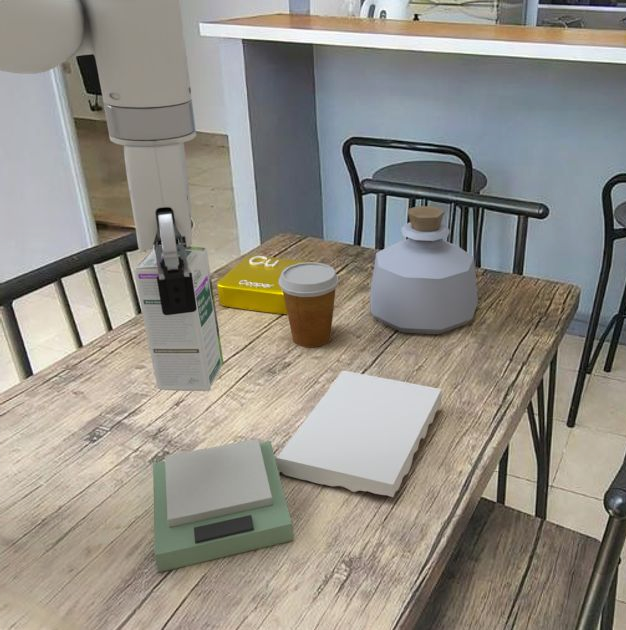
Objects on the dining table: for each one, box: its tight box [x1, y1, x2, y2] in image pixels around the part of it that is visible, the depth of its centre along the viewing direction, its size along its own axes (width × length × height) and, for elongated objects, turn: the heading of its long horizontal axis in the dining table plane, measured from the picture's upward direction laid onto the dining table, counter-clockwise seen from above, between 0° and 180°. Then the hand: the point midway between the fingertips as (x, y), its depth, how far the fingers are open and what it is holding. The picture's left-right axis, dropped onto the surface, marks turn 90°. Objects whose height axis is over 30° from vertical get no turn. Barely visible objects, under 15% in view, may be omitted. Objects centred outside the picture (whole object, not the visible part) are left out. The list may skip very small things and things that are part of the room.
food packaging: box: [276, 370, 443, 498], centre depth 90 cm, size 15×3×20 cm
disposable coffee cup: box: [278, 261, 339, 348], centre depth 111 cm, size 10×10×12 cm
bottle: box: [368, 205, 479, 335], centre depth 120 cm, size 20×20×19 cm
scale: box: [152, 438, 294, 573], centre depth 78 cm, size 14×15×4 cm
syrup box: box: [133, 245, 225, 392], centre depth 72 cm, size 6×6×14 cm
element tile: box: [216, 254, 309, 315], centre depth 128 cm, size 15×15×5 cm
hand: (177, 294), depth 70 cm, fingers closed on syrup box, 7 cm apart
